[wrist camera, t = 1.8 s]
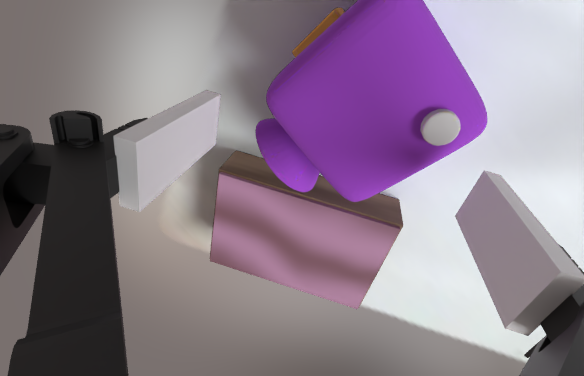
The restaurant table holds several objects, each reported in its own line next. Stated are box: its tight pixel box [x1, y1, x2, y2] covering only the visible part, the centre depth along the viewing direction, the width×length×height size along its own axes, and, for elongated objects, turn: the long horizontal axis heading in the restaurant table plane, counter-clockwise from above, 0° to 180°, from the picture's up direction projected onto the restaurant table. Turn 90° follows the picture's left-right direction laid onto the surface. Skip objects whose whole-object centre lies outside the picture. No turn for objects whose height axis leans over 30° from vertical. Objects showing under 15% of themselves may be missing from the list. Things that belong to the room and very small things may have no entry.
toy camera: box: [256, 0, 487, 202], centre depth 21 cm, size 11×14×10 cm
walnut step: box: [210, 151, 403, 309], centre depth 30 cm, size 11×16×4 cm
